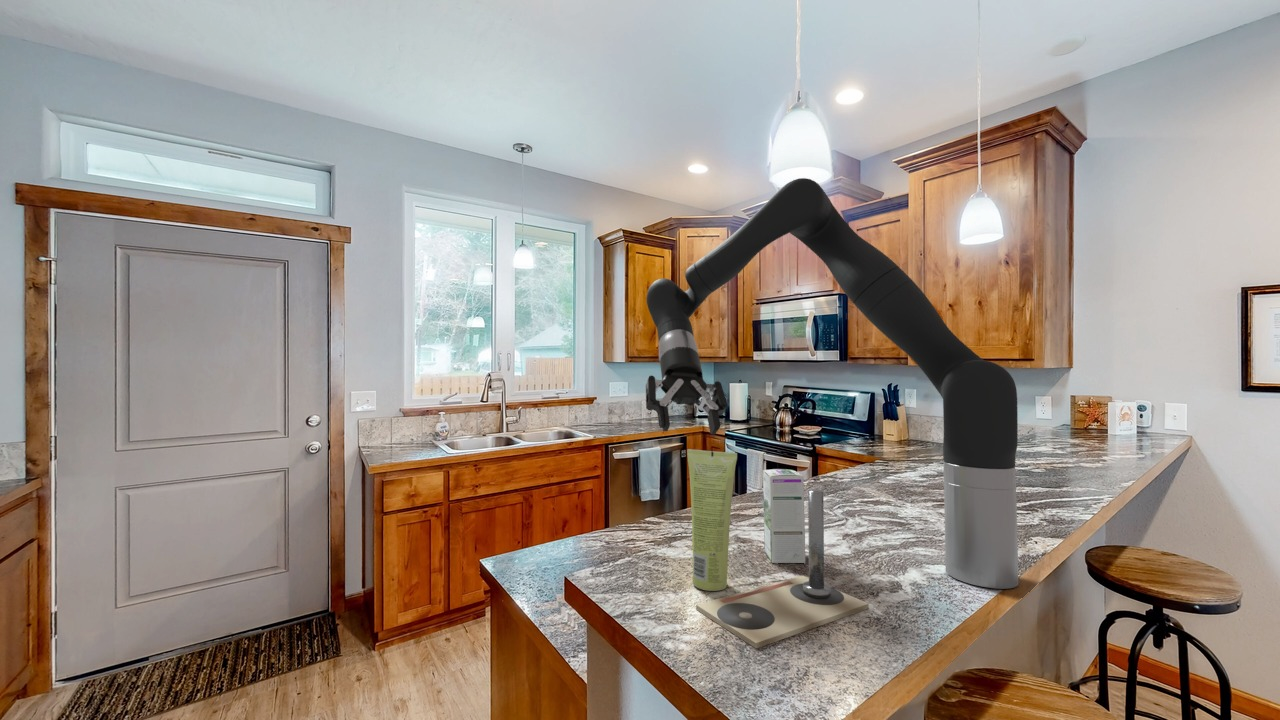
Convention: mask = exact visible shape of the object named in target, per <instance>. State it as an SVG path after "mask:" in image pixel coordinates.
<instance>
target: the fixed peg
mask: <svg viewBox="0 0 1280 720" xmlns="http://www.w3.org/2000/svg"><path fill="white" fill-rule="evenodd" d="M807 493H808V495H807V496H808V497H807V500H808V501H807V502H808V505H807V506H808V508H807V509H808V510H807V511H808V513H807V514H808V519H807V520H808V524H807V526H808V578H809V581H807V582H804V583H803V593H804V594H805V595H806V596H808V597H810V598H814V599H828V598H830V596H831V588H832V587H831V586H830V585H829V584H827V583H825V529H824V528H825V522H824V521H825V520H824V519H825V515H824V512H825V511H824V509H825V508H824V505H825V504H824V502H825V501H824V491H823V490H821V489H816V488H815V489H812V488H811V489H808V491H807ZM830 587H831V588H830Z"/></svg>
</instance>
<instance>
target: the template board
mask: <svg viewBox="0 0 1280 720" xmlns="http://www.w3.org/2000/svg"><path fill="white" fill-rule="evenodd" d="M807 581H809V576H804V575H798V576H796V577H792V578H789V579H785V580H780V581H778V582H774V583H770V584H766V585H764V586H759V587H755V588H752V589H749V590H745V591H741V592H738V593H734V594H731V595H726V596H723V597H719V598H716V599H712V600H708V601H704V602H701V603H697V604H695V609H696V611H698V612H700V613H701V614H703V615H704V616H705V617H707V618H708V619H710V620H712V621H713V622H715V623H716V624H718V625H719V626H721V627H722V628H724V629H726V630H727V631H729V632H730V633H732V634H733V635H734V636H736V637H737V638H739V639H740V640H742V641H744V642H745V643H747V644H749V646H751V647H753V648H754V649H758V648H762V647H764V646H767V645H770V644H773V643H776V642H778V641H779V642H780V641H781V640H783V639H787V638H789V637H792V636H796V635H798V634H801V633H804V632H806V631H810V630H812V629H815V628H817V627H820V626H823V625H826V624H829V623H831V622H834V621H837V620H840V619H843V618H846V617H849V616H851V615H853V614H857V613H859V612H862V611H864V610H865V611H866V610H868V609H869V608H870V606H869V602H866V601H863V600H861V599H859V598H856V597H854V596H852V595H849V594H847V593H845V592H843V591H840V590H837V589H835V588H834V587H832V586H830V588H831V596H830V598H828V599H814V598H810V597H808V596H806V595H805V594H804V593H803V583H804V582H807Z"/></svg>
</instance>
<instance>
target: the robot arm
mask: <svg viewBox="0 0 1280 720" xmlns="http://www.w3.org/2000/svg"><path fill="white" fill-rule="evenodd" d="M788 234H790V235H792V236H793V237H795V238H796V239H798V240H799V241H800V242H802V243H803V244H804V245H805V246H806V247H807V248H808V249H809V250H811V251H812V252H813V253H814V254H815V255H816V256H817V257H818V258H819V259H820V260H821V261H822V262H823V263H824V264H825V265H826V267H827V269H828V270H829V271H830V273H831V275H832V276H833V278H834V279H835V281H836V282H837V284H838V286H839V287H840V289H842V291H843V293H844V294H845V295H846V296H847V297H848V299H849V300H850V301H851V302H852V303H853V305H854V306H855V307H856V308H857V309H858V310H859V311H860V312H861V313H862V315H864V317H865V318H866V319H867V320H868V321H869V322H870V323H871V324H872V325H873V326H874V327H876V328H877V330H879V331H880V332H881V333H882V334H883V335H884V336H885V337H886V338H888V340H890V341H891V342H892V343H894V345H896V346H897V347H898V348H899V349H900V350H902V351H903V352H904V353H906V354H907V355H908V356H909V357H910V358H911V359H912V360H913V362H915V363H916V365H917V366H918V367H919V368H920V370H921V371H922V372H923V373H924V375H925V376H926V377H927V378H928V380H929V381H930V382H931V384H932V385H933V387H934V388H935V389H936V391H937V393H939V395H940V397H941V398H942V407H943V409H942V410H943V415H942V416H943V440H942V441H943V442H942V443H943V445H942V452H943V453H942V454H943V455H942V457H943V460H942V461H943V495H944V496H943V497H944V498H943V499H944V500H943V501H944V502H943V503H944V504H943V505H944V549H945V550H944V551H945V552H944V556H945V559H944V560H945V563H944V564H945V572H946V574H947V575H949V576H950V577H951V578H954V579H956V580H959V581H961V582H964V583H966V584H969V585H970V584H971V585H974V586H978V587H984V588H990V589H999V590H1001V589H1002V590H1005V589H1013V588H1016V587H1018V586H1019V550H1018V549H1019V548H1018V514H1017V513H1018V510H1017V480H1016V479H1017V477H1016V474H1017V473H1016V453H1017V449H1018V441H1019V440H1018V439H1019V438H1018V425H1019V424H1018V419H1019V418H1018V392H1017V391H1018V390H1017V385H1016V383H1015V380H1014V378H1013V376H1012V375H1011V373H1009V372H1008V371H1007V369H1005V368H1004V367H1003V366H1001V365H999V364H997V363H996V362H992V361H990V360H984V359H983V358H981V357H980V356H979V355H978V354H977V353H975V352H974V351H973V350H972V349H971V348H970V347H968V345H966V343H964V342H962V340H960V339H959V337H957V336H956V335H955V333H953V332H952V330H951V329H950V328H949V327H948V325H947V324H946V323H945V322H944V320H943V319H942V316H940V314H939V312H938V311H937V309H936V308H935V307H934V305H933V304H932V302H931V301H930V300H929V298H928V297H927V295H926V294H925V292H923V290H921V288H920V287H919V286H918V285H917V283H916V282H914V280H913V279H912V278H910V276H909V275H908V274H907V273H906V272H905V271H904V270H903V269H902V268H901V267H900V266H899V265H898V264H897V263H896V262H894V261H893V260H892V259H891V258H890V257H889V256H887V255H886V254H885V253H884V252H882V251H881V250H880V249H879V248H877V247H875V246H873V245H872V244H871V243H869V242H868V241H866V240H865V239H864V238H862V237H861V236H860V235H858V234H857V233H856V231H854V230H853V229H852V227H850V225H849V224H848V223H847V221H846V220H845V219H844V218H843V216H842V215H841V214H840V213H839V211H838V210H837V209H836V207H835V206H834V204H833V203H832V201H831V199H830V197H829V195H827V193H826V191H825V190H824V189H823V188H822V186H821V185H820V184H819V183H818V182H816V181H815V180H814V179H813V180H812V179H811V178H806V177H802V178H796V179H793V180H790V181H789V182H787V183H786V184H784V185H783V186H782V187H781V188H779V190H778V191H777V192H775V194H773V196H771V197H770V199H768V200H767V202H765V203H764V205H762V207H761V208H759V210H758V211H756V213H754V214H753V215H752V216H751V217H750V218H749V219H747V221H745V222H744V224H743V225H742V226H740V227H739V228H738V229H737V230H736V231H734V232H733V233H732V234H731V235H730V236H729V237H728V238H727V239H725V240H723V241H722V242H721V243H720V244H719V245H718V246H716V247H715V248H713V249H712V250H711V251H709V252H707V254H705V255H704V256H702V257H701V258H700V259H698V260H697V261H695V262H694V263H692V264H691V265H690V266H689V267H688V268H687V269H686V270H685V273H684V277H685V280H686V283H687V284H688V286H689V288H688V289H687V290H683V289H682V288H681V287H680V286H679V285H678V284H677V283H675V282H674V281H673V280H671V279H669V278H665V277H663V278H659V279H657V280H654V281H653V282H652V283H651V285H650V286H649V288H648V290H647V293H646V305H647V309H648V311H649V314H650V317H651V319H652V321H653V324H654V326H655V327H656V331H657V339H658V340H657V341H658V361H659V365H660V372H661V373H660V374H661V380H660V379H656V377H655V376H654V375H649V376H648V378H647V381H646V384H645V408H646V409H647V411H655V412H656V414H657V421H658V426H659V428H660V429H662V431H663V432H668V430H669V429H670V427H671V424H670V423H671V422H670V416H669V415H670V414H669V407H670V406H671V405H672V403H675V404H676V405H688V406H695V407H696V408H697V409H698V410H699V411H703V412H704V414H706V416H707V423H708V428H709V433H710V435H716V433H717V432H719V429H720V428H721V422H720V421H721V419H720V416H723V414H724V413H725V411H726V409H727V407H728V403H727V400H726V395H725V392H724V388H723V385H722V383H721V382H720V381H719V380H717V381H715V382H714V383H707V382H706V381H705V380H704V378H703V369H702V364H701V359H700V355H699V349H698V344H697V343H696V340H695V336H694V331H693V325H692V322H691V320H690V319H689V318H690V317H692V315H693V314H695V312H696V311H697V309H698V308H699V307H700V306H701V305H702V304H703V303H704V302H705V300H706V299H707V298H708V297H709V296H710V295H711V294H712V293H714V292H715V291H716V290H719V288H721V287H723V286H724V285H725V284H727V283H729V282H730V281H731V280H733V279H734V278H735V277H736V276H737V275H739V274H740V273H741V272H742V271H743V270H744V269H745V267H747V266H748V264H749V263H750V262H751V261H752V260H753V259H754V258H755V257H756V256H757V255H758V254H759V253H760V252H762V250H763V249H765V248H766V247H767V246H769V244H771V243H774V242H775V241H776V240H778V239H779V238H782V237H784V236H785V235H788ZM659 388H660V389H661V390H662V392H664V394H665V395H664V396H663V397H662V398H661V400H659V399H657V391H658V389H659ZM700 399H701V400H700Z"/></svg>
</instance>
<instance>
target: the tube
mask: <svg viewBox="0 0 1280 720" xmlns="http://www.w3.org/2000/svg"><path fill="white" fill-rule="evenodd" d="M686 455H687V462H688V463H687V464H688V473H689V487H690V505H691V526H692V527H691V534H692V535H691V537H692V539H691V540H692V584H693V585H694V586H695V587H696V588H698V589H700V590H702V591H707V592H708V591H709V592H718V591H723V590H725V589H726V588H727V586H728V585H727V584H728V565H729V563H728V561H729V545H730V530H731V529H730V527H731V511H732V500H733V489H734V482H735V481H734V480H735V470H736V465H737V461H738V453H737V452H724V451H712V450H700V449H691V448H688V449H687V450H686Z"/></svg>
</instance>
